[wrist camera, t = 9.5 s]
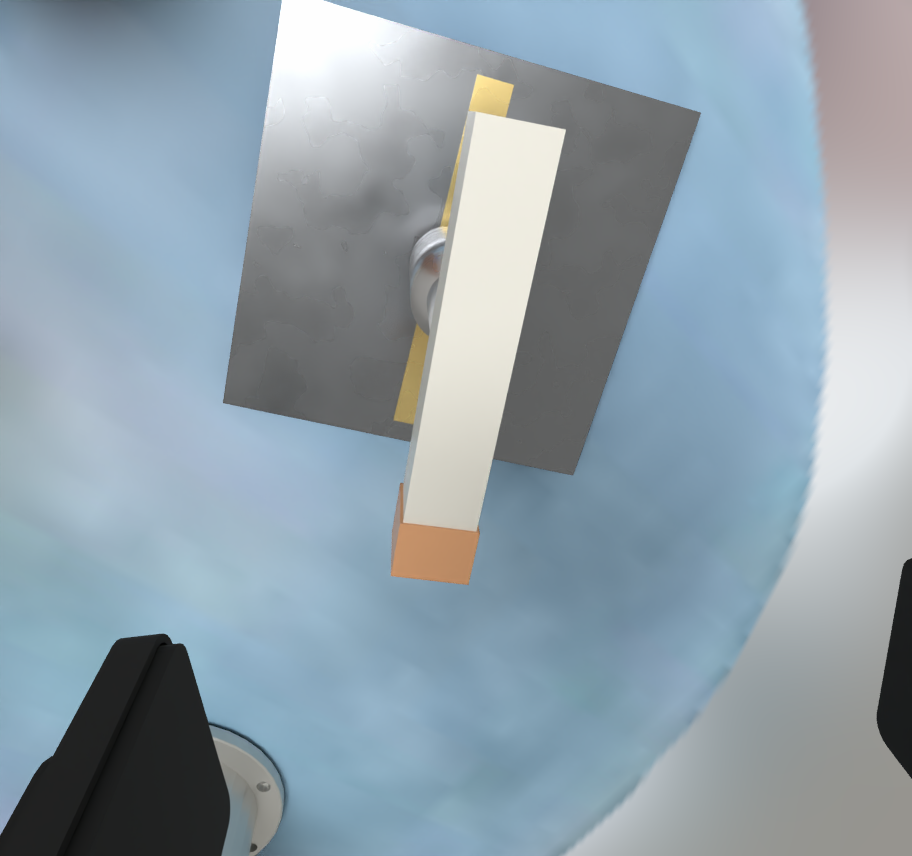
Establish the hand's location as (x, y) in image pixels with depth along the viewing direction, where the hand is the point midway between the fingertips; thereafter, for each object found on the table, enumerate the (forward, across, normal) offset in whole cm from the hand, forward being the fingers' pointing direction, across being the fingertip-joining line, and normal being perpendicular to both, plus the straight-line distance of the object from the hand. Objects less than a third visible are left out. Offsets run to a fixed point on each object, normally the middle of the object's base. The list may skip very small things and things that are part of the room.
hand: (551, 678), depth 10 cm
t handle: (+20, 0, 0) cm, 20 cm away
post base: (+28, 0, 0) cm, 28 cm away
